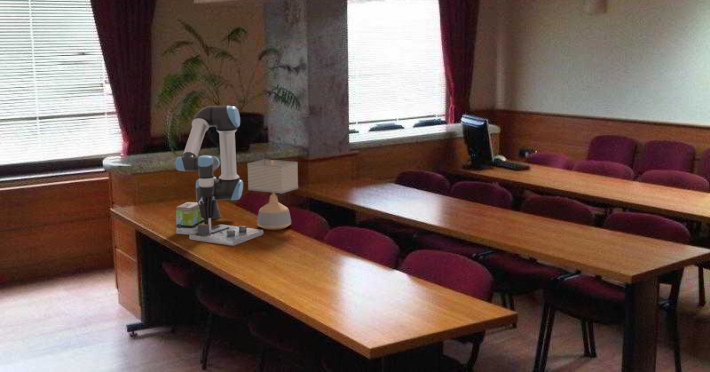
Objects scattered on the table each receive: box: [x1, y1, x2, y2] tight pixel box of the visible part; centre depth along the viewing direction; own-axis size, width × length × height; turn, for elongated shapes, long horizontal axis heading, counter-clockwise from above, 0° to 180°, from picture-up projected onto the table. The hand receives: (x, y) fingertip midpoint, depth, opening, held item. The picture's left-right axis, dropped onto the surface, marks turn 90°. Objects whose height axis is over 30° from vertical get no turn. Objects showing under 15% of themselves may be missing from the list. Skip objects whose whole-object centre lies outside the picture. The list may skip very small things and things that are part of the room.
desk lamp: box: [247, 158, 299, 231], centre depth 429 cm, size 22×19×37 cm
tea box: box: [175, 201, 205, 235], centre depth 424 cm, size 15×10×15 cm
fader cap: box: [198, 223, 209, 235], centre depth 408 cm, size 3×5×5 cm, turn 61°
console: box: [188, 223, 264, 247], centre depth 412 cm, size 26×29×5 cm
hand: (208, 230), depth 411 cm, fingers closed
